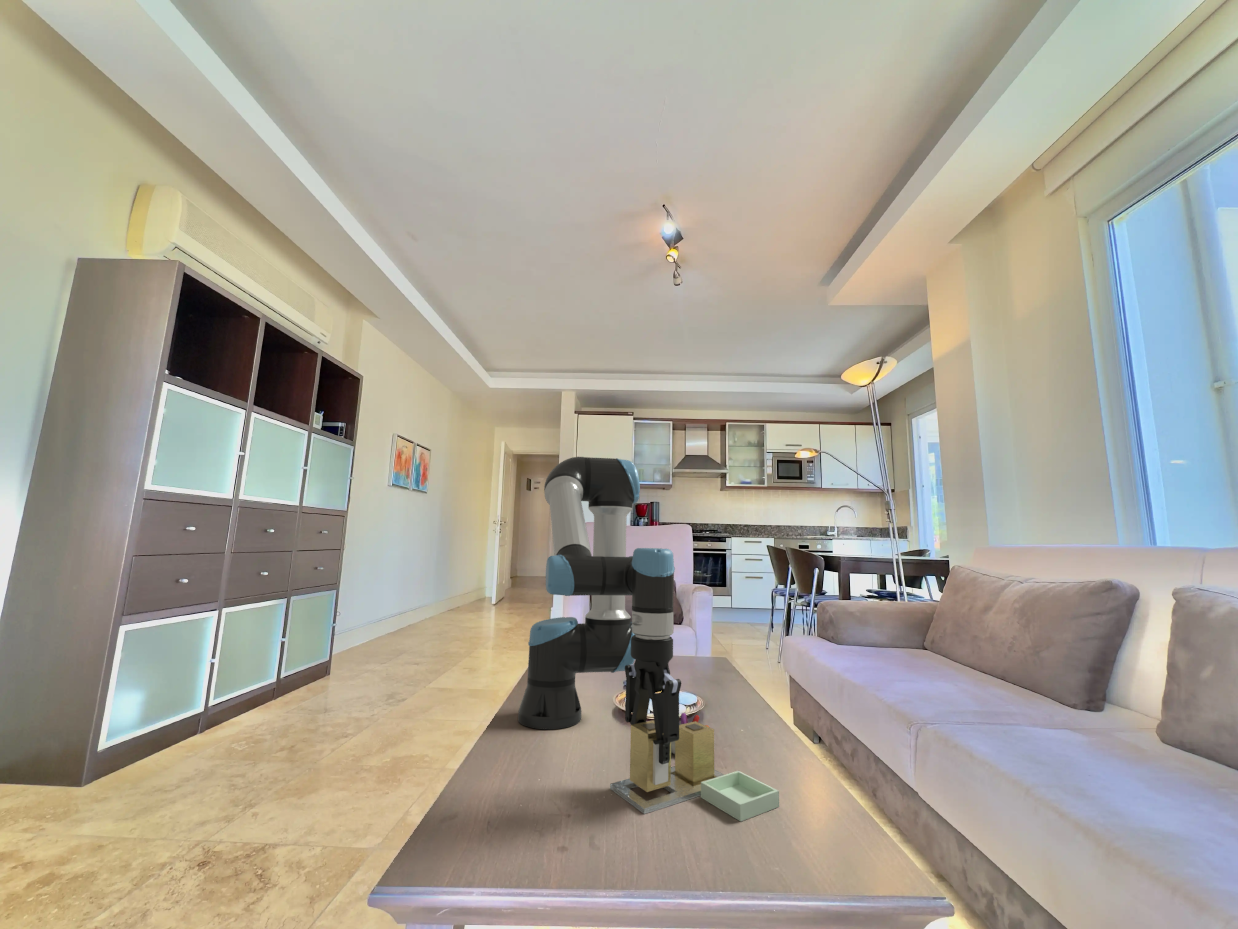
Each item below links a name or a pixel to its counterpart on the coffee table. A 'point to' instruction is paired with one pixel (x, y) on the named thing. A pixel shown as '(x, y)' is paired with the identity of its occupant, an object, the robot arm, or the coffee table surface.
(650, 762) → the brass block
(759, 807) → the tray
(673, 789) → the grey frame plate
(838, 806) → the coffee table surface
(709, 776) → the tan textured tower
